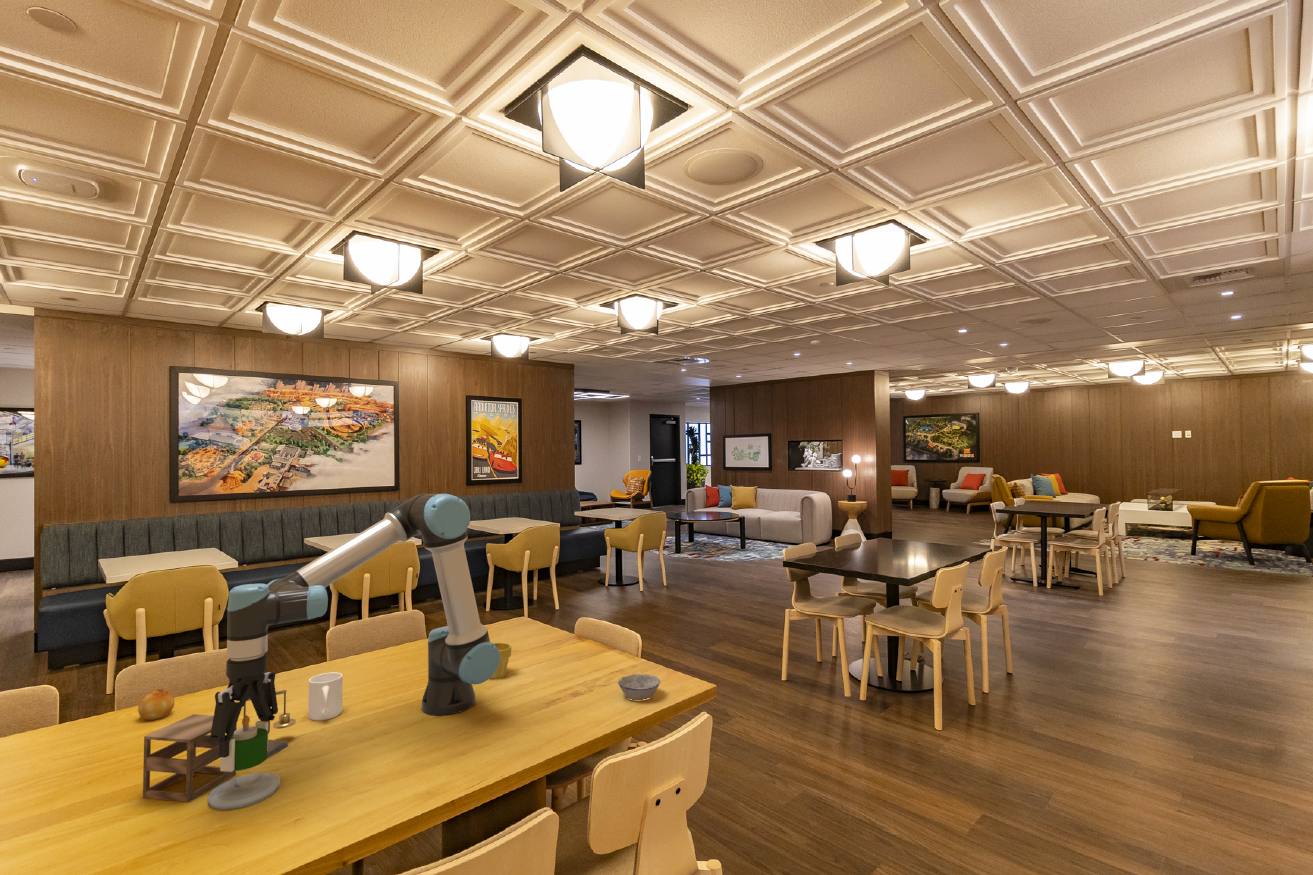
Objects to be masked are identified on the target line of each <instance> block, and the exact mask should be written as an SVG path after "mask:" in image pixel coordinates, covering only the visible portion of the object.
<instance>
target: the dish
mask: <svg viewBox="0 0 1313 875" xmlns="http://www.w3.org/2000/svg"><path fill="white" fill-rule="evenodd" d="M280 780H281V779H280V777H279V775H278V774H276V773H274V772H273V773H271V772H257V773H250V774H245V775H241V776H238V777H235V778H232V779H229V780H228V781H227V780H226V781H224V782H222V783H220V784H219V785H217V786H215V787H214V788H213V789H212V790H211V792H210V793H209V794H208V797H207V798H208V800H207V802H208V803H207V804H208V807H210V808H211V809H213V810H217V811H230V810H231V811H232V810H237V809H238V810H239V809H242V808H247V807H250V806H252V805H255V804H257V803H260V802H262V801H264V800H266V799H268V798H270V797H271V796H273V795H274V794H275V793H276V792H277V791H278V790H279V788H280V784H281V781H280Z"/></svg>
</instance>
